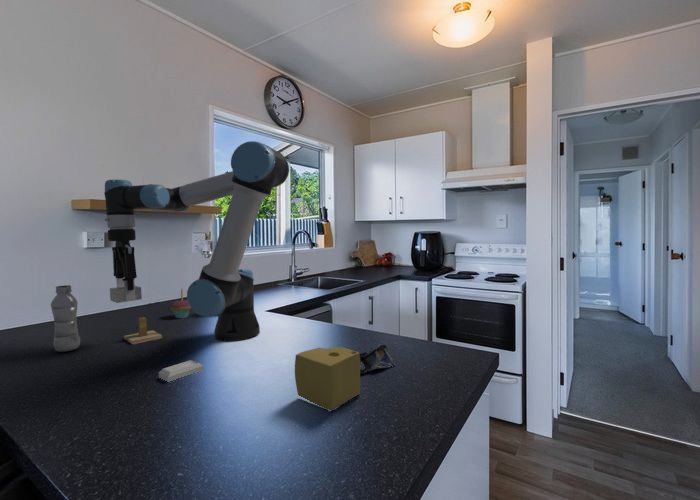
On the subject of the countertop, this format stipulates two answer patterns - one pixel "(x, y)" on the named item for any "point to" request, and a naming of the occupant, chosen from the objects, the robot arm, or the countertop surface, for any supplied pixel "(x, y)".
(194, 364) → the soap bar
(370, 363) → the snack package
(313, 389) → the cheese
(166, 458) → the countertop surface
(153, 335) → the tan square plate
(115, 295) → the grey square frame
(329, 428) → the countertop surface
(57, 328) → the plastic bottle
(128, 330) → the countertop surface
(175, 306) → the cupcake
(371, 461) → the countertop surface
